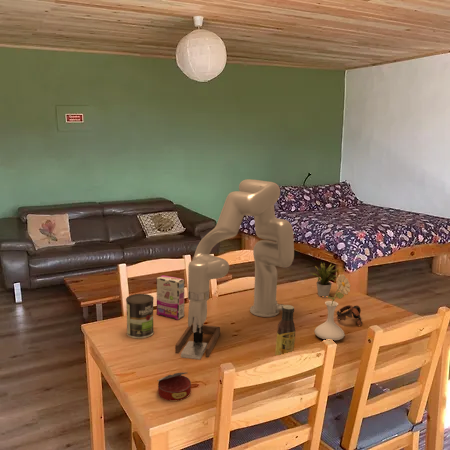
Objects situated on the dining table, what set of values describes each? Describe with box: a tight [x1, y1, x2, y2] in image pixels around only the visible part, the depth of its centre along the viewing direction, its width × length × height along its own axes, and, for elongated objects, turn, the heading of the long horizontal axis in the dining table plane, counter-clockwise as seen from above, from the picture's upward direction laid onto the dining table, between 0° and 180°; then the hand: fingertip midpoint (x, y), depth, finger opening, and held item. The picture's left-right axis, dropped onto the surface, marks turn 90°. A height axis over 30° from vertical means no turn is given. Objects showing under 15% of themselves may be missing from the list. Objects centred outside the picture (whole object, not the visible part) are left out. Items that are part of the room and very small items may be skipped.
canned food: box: [157, 372, 192, 401], centre depth 144 cm, size 11×10×10 cm
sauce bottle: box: [274, 304, 296, 356], centre depth 163 cm, size 6×6×20 cm
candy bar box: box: [155, 274, 185, 321], centre depth 200 cm, size 11×5×16 cm, turn 62°
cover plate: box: [180, 340, 208, 361], centre depth 170 cm, size 7×10×2 cm
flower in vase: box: [314, 273, 351, 341], centre depth 182 cm, size 13×11×25 cm
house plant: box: [312, 262, 340, 298], centre depth 226 cm, size 14×14×16 cm
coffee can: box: [125, 293, 155, 340], centre depth 183 cm, size 10×10×14 cm
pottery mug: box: [336, 304, 363, 327], centre depth 199 cm, size 12×10×8 cm
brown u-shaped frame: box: [174, 324, 221, 358], centre depth 177 cm, size 12×19×3 cm, turn 168°
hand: (198, 341), depth 176 cm, fingers closed
